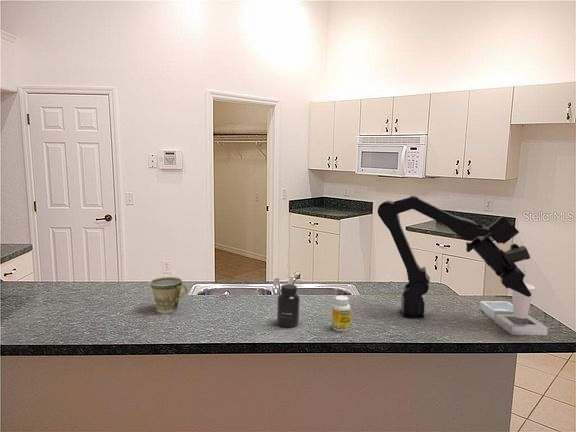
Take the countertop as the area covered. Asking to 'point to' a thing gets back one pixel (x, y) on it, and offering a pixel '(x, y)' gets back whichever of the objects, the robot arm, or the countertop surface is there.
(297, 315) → the supplement bottle
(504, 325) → the bore block
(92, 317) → the countertop surface
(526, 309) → the smoothie
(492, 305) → the tray
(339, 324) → the supplement bottle
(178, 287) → the ceramic cup
